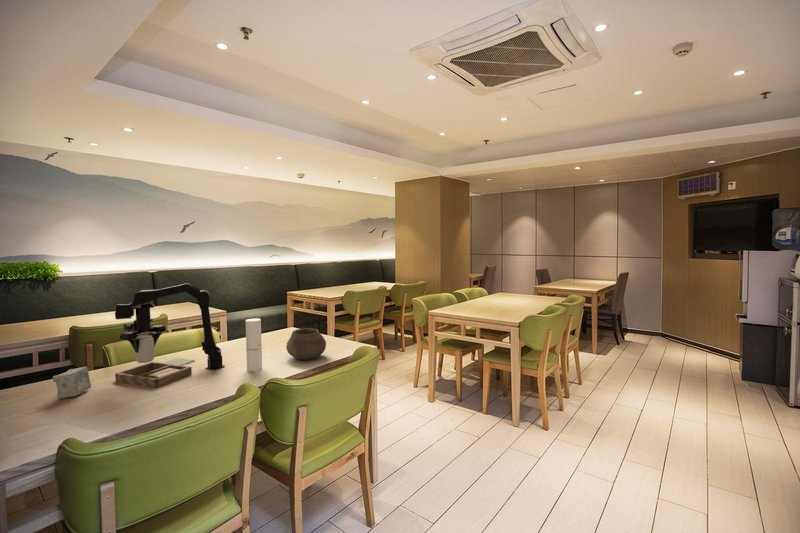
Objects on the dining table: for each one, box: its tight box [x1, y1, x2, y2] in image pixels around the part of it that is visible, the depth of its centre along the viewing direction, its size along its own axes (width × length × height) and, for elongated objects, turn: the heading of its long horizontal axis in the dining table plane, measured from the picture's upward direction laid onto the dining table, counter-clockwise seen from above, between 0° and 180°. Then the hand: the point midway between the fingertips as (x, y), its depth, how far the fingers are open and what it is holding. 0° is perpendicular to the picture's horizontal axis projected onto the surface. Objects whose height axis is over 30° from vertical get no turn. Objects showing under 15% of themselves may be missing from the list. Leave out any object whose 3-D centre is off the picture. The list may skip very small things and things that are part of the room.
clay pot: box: [285, 327, 327, 361], centre depth 211 cm, size 22×21×15 cm
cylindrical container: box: [245, 317, 263, 372], centre depth 192 cm, size 7×7×25 cm
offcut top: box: [148, 368, 179, 379], centre depth 178 cm, size 7×10×2 cm, turn 160°
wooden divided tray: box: [114, 361, 192, 389], centre depth 180 cm, size 25×18×4 cm
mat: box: [163, 357, 195, 366], centre depth 202 cm, size 12×12×1 cm
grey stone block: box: [52, 366, 92, 400], centre depth 161 cm, size 10×8×10 cm
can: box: [134, 334, 155, 364], centre depth 181 cm, size 8×8×12 cm
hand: (144, 350), depth 181 cm, fingers closed on can, 7 cm apart
